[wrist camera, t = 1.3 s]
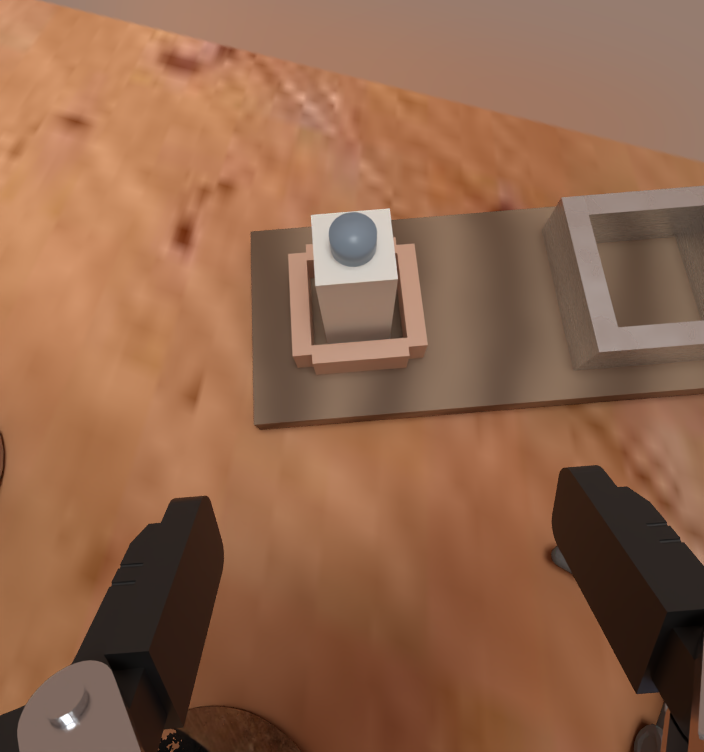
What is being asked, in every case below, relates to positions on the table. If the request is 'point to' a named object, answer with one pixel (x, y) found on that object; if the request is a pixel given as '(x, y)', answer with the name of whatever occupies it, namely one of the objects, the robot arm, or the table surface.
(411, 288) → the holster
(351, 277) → the plug
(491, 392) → the panel
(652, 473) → the table surface
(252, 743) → the skull
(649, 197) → the frame
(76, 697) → the robot arm
